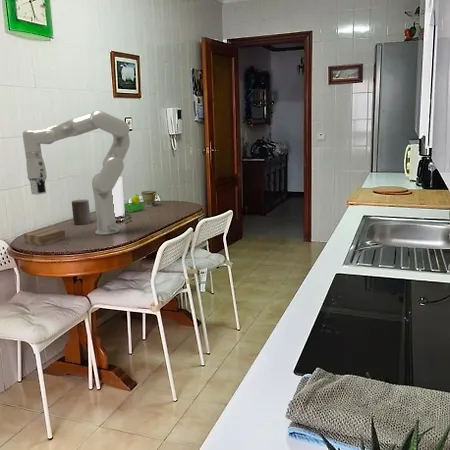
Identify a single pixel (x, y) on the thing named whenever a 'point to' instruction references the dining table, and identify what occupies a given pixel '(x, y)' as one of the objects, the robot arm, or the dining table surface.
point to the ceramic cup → (149, 198)
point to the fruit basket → (134, 204)
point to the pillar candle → (81, 212)
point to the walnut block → (44, 236)
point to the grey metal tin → (35, 187)
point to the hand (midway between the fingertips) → (38, 191)
